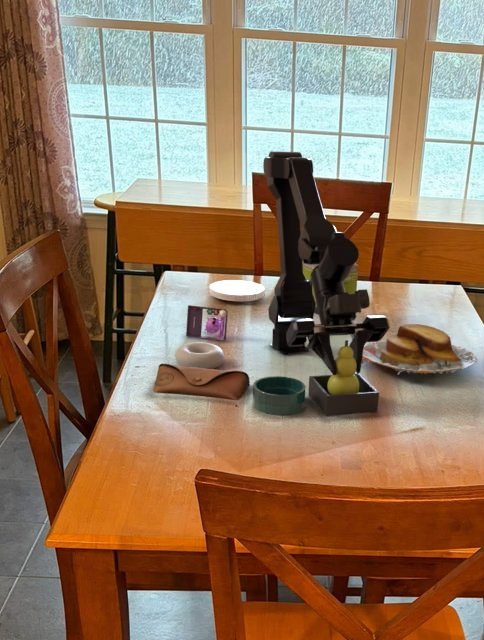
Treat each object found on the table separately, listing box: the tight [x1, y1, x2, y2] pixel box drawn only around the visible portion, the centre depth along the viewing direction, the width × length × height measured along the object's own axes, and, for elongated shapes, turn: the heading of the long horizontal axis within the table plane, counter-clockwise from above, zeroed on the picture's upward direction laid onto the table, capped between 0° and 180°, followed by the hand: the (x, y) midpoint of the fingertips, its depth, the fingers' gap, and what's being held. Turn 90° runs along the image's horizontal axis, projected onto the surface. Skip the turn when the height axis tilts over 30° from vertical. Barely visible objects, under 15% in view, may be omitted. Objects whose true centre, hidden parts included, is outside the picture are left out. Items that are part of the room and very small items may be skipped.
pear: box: [327, 339, 359, 395], centre depth 153 cm, size 6×6×12 cm
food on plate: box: [361, 323, 478, 376], centre depth 177 cm, size 25×25×7 cm
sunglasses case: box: [153, 363, 250, 401], centre depth 157 cm, size 18×7×7 cm, turn 87°
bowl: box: [252, 375, 307, 416], centre depth 152 cm, size 10×10×4 cm
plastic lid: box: [209, 279, 266, 302], centre depth 211 cm, size 14×14×2 cm
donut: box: [174, 341, 225, 369], centre depth 169 cm, size 10×4×10 cm
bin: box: [307, 372, 380, 417], centre depth 155 cm, size 10×10×5 cm
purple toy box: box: [185, 304, 229, 342], centre depth 184 cm, size 7×5×9 cm
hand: (347, 373), depth 151 cm, fingers closed on pear, 4 cm apart
